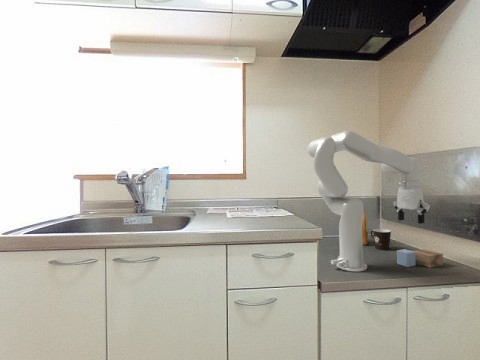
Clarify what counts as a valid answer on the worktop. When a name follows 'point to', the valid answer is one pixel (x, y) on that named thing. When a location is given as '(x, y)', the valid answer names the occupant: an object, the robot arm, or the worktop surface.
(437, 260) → the block
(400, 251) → the blue block
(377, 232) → the coffee mug
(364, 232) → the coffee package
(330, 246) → the worktop surface
